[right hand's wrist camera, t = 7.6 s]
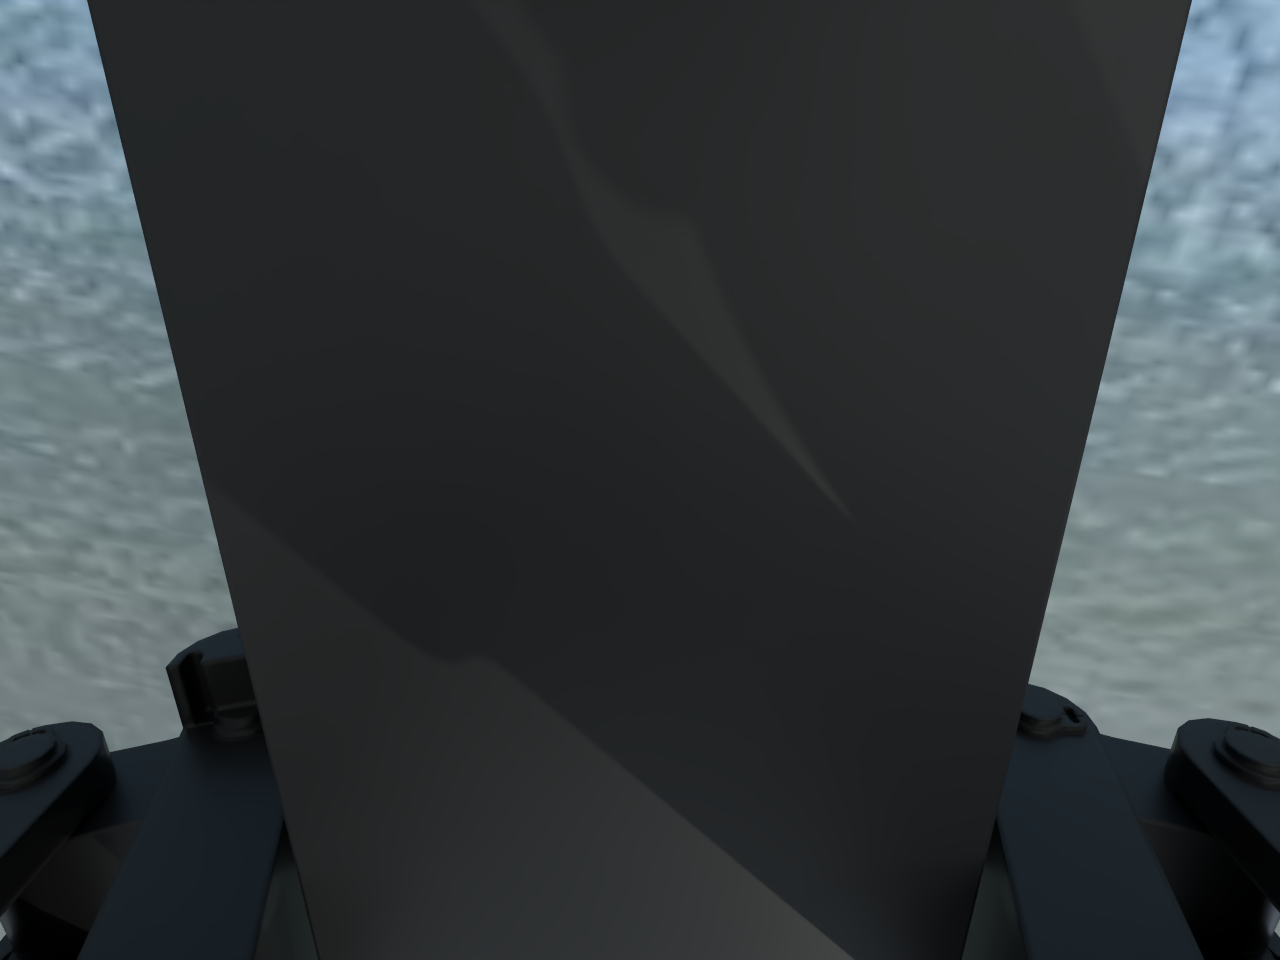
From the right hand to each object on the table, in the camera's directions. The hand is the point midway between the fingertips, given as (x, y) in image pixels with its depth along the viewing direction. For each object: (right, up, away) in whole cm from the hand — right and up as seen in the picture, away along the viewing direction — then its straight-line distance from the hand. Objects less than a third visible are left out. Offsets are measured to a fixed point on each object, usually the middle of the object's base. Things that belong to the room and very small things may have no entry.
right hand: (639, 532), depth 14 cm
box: (0, +7, -2) cm, 7 cm away
